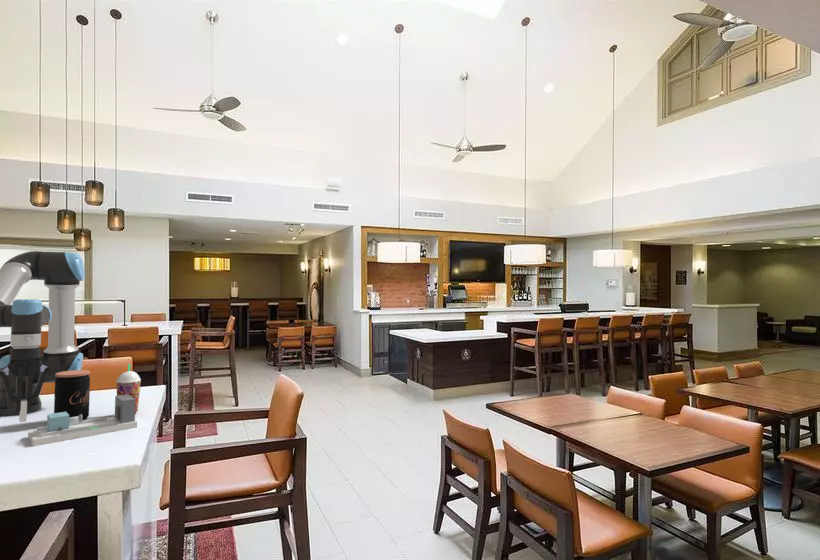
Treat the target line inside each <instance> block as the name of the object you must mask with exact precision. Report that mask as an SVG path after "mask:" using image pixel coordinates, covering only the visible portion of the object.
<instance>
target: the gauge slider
mask: <svg viewBox="0 0 820 560" xmlns="http://www.w3.org/2000/svg"><path fill="white" fill-rule="evenodd" d="M46 415H47V416H46V426H47V430H48V432H53V431H59V430H60V431H62V430H65V429H69V422H75V421H79V422H82V414H80V415H79V416H77V417H70V418H69V415H68V413H67V412H60V413H54V412H53V413H48V414H46Z"/></svg>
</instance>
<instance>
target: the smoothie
mask: <svg viewBox="0 0 820 560" xmlns="http://www.w3.org/2000/svg"><path fill="white" fill-rule="evenodd" d="M127 367H128V368H127V371H124V372H123V373H121V374H119V376H118V377H117V380H115V382H116V396H120V395H127V394H128V395H129V396H131V397H133V398H134V399H135V415H136V414H137V412H138V411H139V405H140V403H139V402H140V391H141V383H142V382H141V381H142V379H141V377H140V375H139V374H138V373H137V372H135V371H133V370H131V364H130V363H128V364H127Z"/></svg>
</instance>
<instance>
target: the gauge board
mask: <svg viewBox="0 0 820 560" xmlns="http://www.w3.org/2000/svg"><path fill="white" fill-rule="evenodd" d="M133 427H135V428H138V421H137V420H136V414H135V399H134V398H133V397H131V396H129V395H128V394H127V395H120V396H117V395H115V399H114V417H108V416H101V417H95V418H89V419H88V418H87V419H86V420H82V422H79V421H76V422H70V423H69V429H65V430H62V431H60V430H59V431H53V432H48V430H47V425H46V426H39V427H36V429H34V430H29V431H28V432H27V438H28V440H29V442H30V443H32V444H31V446H32V447H35V446H36V445H37V446H41V445H47V444H52V443H58V442H63V441H69V440H73V439H74V440H75V439H80V438H79V437H81V438H85V437H90V436H91V435H92V436H97V435H102V434H107V433H112V432H113V431H114V432H117V431H118V430H119V431H123V429H124V430H129V429H128V428H130V429H134V428H133ZM92 436H91V437H92ZM37 446H36V447H37Z"/></svg>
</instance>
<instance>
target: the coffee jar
mask: <svg viewBox="0 0 820 560" xmlns="http://www.w3.org/2000/svg"><path fill="white" fill-rule="evenodd" d="M90 375H91V371H90V370H88V369H81V370H72V371H64V372H58V373H56V374H55V376H56V377H57V379H56V380H55V382H54V401H53V402H54V403H53V405H54V406H53V413H60V412H67V413H68V415H69V418H70V417H77V416H79V415H80V414H82V420H85V419H86V420H88V417H89V416H90V397H91V396H90V393H91V392H90V391H91V388H90V387H91V377H90ZM75 422H76V421H75ZM69 423H70V422H69Z"/></svg>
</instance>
